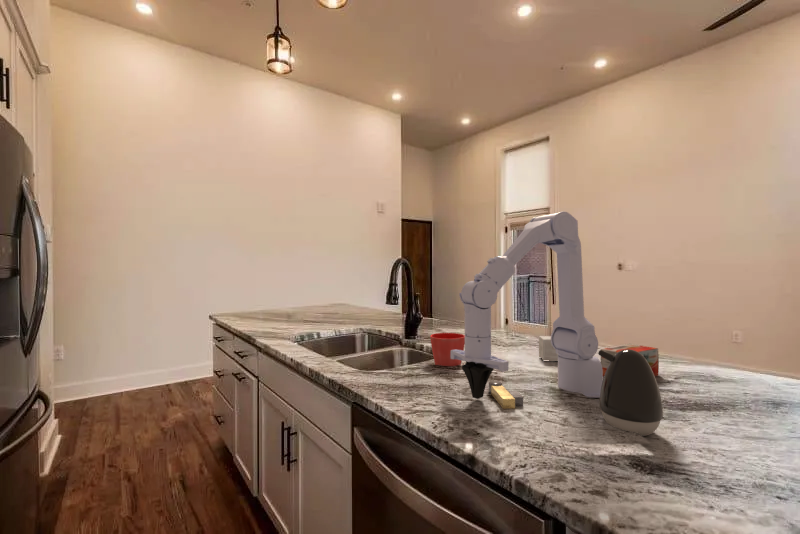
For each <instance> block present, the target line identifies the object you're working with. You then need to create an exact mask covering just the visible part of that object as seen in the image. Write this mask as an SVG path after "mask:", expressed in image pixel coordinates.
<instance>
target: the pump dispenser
mask: <svg viewBox="0 0 800 534" xmlns="http://www.w3.org/2000/svg"><path fill="white" fill-rule="evenodd" d="M598 356H600V357H601V356H602V357H603V358H605V359H607V360H608V361H610V364H609V366H608V368H607V370H606V372H605V375H604V377H603V382H602V386H601V391H600V398H598V399H599V401H598V405H599V409H600V411H601V415H602V417H603V419H604V421H605V422H606V423H607V424H608V425H610V426H611V427H613V428H616V429H619V430H623V431H626V432H629V433H636V434H638V435H639V436H641V437H646V436H649V435H651V434H654V432H655V431H657V429H658V427H659V425H660V423H661V421H662V420H663V418H664V409H663V402H662V396H661V392H660V388H659V385H658V381H657V379H656V376H654V374H653V371H652V369H651V367H650V365H649V363H648V362H647V360H646V359H645V357H644V356H643V355H642V354H640V353H639V352H637V351H635V350H630V349H626V350H622V351H619V352H618V353H617V354H616V355H612V354H609V353H607V352H605V351H602V350H601V349H599V351H598Z"/></svg>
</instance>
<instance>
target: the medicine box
mask: <svg viewBox="0 0 800 534" xmlns="http://www.w3.org/2000/svg"><path fill="white" fill-rule="evenodd" d="M626 349H630V350H635V351H637V352H639V353H640V354H642V355H643V356H644V357H645V359H646V360H647V362H648V363H649V365H650V367H651V369H652V371H653V374H654V376H655V377H658V376H659V371H660V370H659V369H660V368H659V367H660V363H659V362H660V361H659V359H660V358H659V357H660V355H659V348H657V347H652V346H645V345H639V344H635V343H627V344H626V343H625V344H620V345H615V346H609V347H603V348H600V350H602V351H605V352H607V353H609V354H612V355H616V354H617V353H618V352H619V351H622V350H626ZM600 362H601V365H602V370H603V376H604V375H605V372H606V370H607V368H608V366H609V364H610V361H608V360H607V359H605V358H603V357H602V356H600Z"/></svg>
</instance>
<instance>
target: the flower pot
mask: <svg viewBox="0 0 800 534" xmlns="http://www.w3.org/2000/svg"><path fill="white" fill-rule="evenodd" d="M429 339H430V345H431V350H432V351H431V352H432V354H433V355H432V357H433V361H434V365H435V366H444V367H454V366H455V367H456V366H461V365H462V360H458V359H451V350H455V349H457V350H463V351H465V334H464V333H457V332H437V333H433V334H431V335H430V336H429Z"/></svg>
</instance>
